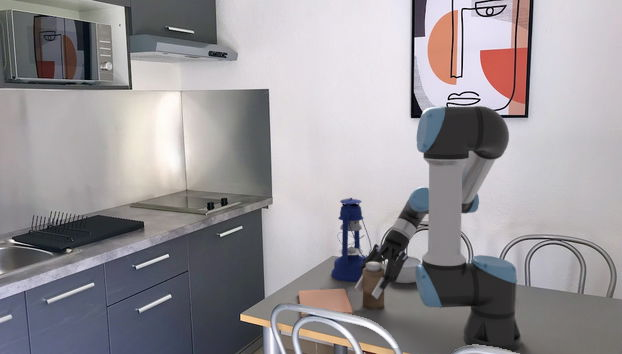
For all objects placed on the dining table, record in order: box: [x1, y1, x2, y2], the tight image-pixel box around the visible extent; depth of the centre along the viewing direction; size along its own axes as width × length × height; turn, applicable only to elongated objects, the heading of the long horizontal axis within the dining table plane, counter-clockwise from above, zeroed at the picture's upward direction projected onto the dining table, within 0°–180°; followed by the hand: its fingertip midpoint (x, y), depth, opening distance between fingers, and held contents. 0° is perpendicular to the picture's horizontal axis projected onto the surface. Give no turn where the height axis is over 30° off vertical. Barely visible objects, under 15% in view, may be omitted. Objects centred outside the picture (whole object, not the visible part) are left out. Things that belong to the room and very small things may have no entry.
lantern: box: [331, 197, 373, 283], centre depth 201 cm, size 17×15×30 cm
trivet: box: [298, 288, 354, 317], centre depth 175 cm, size 20×16×2 cm
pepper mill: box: [362, 262, 385, 310], centre depth 173 cm, size 7×7×14 cm
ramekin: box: [385, 255, 422, 284], centre depth 198 cm, size 13×13×7 cm
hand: (365, 293), depth 171 cm, fingers closed on pepper mill, 7 cm apart
